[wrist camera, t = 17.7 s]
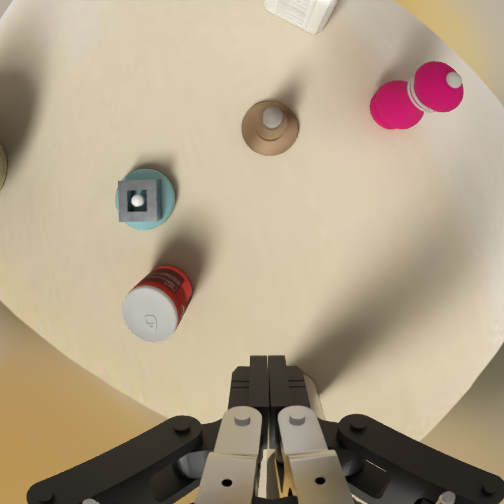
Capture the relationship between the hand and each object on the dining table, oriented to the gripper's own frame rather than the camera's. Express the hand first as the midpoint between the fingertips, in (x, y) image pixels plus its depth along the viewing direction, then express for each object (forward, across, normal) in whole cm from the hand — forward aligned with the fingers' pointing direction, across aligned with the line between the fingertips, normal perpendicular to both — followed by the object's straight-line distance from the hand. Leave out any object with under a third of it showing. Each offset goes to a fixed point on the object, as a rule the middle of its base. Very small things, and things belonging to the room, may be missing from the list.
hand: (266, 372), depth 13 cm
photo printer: (+35, -6, -35) cm, 50 cm away
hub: (+35, +17, -6) cm, 39 cm away
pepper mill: (+35, -20, -20) cm, 45 cm away
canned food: (+35, +14, +8) cm, 39 cm away
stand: (+35, -1, -16) cm, 38 cm away
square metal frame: (+33, +17, -6) cm, 37 cm away
